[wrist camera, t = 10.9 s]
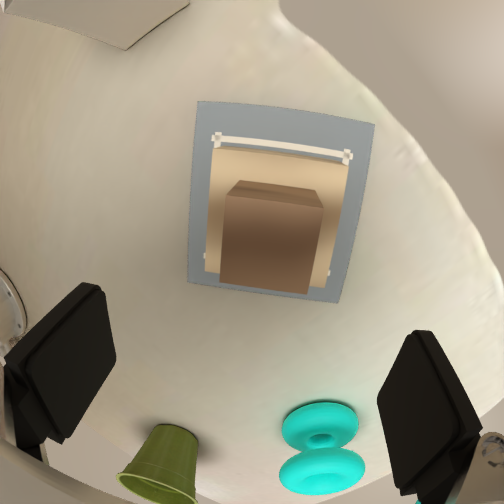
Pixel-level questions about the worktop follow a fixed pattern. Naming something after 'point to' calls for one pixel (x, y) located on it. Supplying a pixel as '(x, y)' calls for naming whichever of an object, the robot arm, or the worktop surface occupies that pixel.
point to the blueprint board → (282, 140)
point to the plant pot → (164, 467)
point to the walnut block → (270, 236)
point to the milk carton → (99, 16)
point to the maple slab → (280, 173)
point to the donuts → (321, 450)
